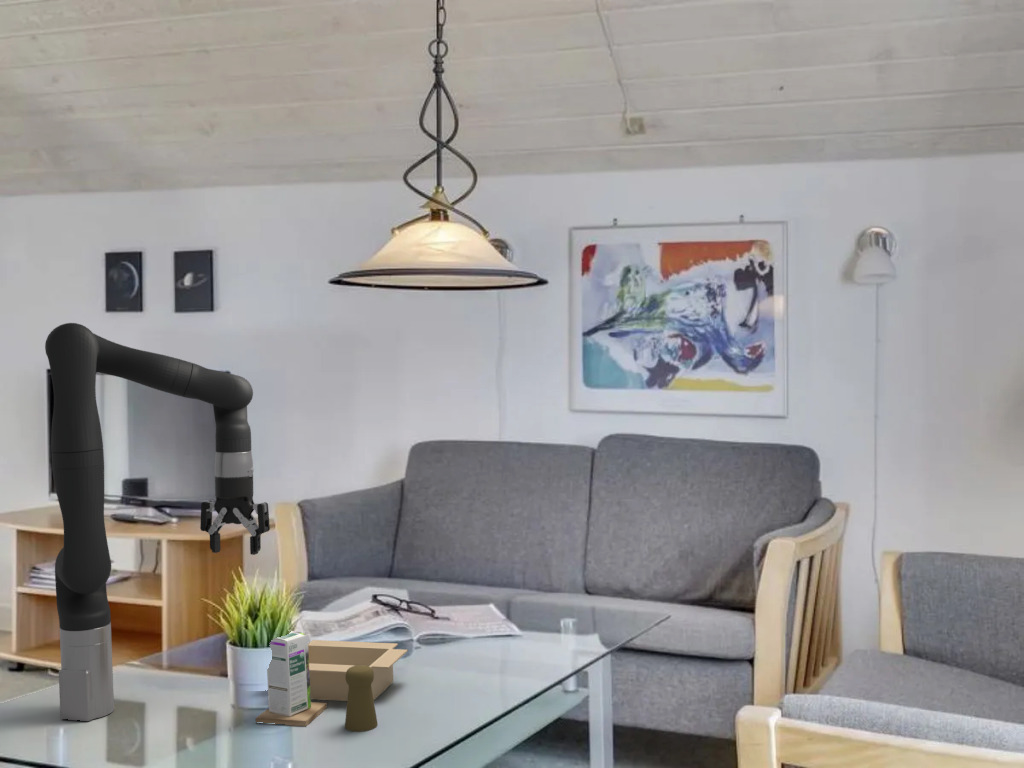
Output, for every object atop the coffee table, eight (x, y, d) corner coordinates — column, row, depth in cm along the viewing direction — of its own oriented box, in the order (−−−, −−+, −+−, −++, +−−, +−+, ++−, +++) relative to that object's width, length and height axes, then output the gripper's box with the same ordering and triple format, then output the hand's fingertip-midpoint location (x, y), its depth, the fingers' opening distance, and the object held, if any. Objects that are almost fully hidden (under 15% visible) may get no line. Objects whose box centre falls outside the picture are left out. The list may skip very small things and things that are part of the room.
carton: (414, 677, 230) (413, 644, 230) (382, 709, 211) (381, 673, 210) (299, 671, 236) (298, 639, 236) (257, 702, 216) (256, 667, 216)
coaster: (306, 726, 202) (305, 721, 202) (255, 723, 204) (255, 718, 204) (326, 708, 212) (326, 702, 212) (278, 705, 214) (278, 700, 214)
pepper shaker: (347, 720, 205) (346, 662, 205) (379, 719, 205) (378, 661, 204) (341, 731, 199) (339, 672, 199) (374, 731, 199) (373, 671, 198)
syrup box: (290, 717, 204) (287, 640, 204) (267, 712, 208) (264, 636, 207) (311, 708, 209) (309, 633, 208) (289, 703, 212) (286, 629, 212)
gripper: (192, 475, 220) (194, 555, 221) (257, 476, 217) (258, 558, 217) (211, 470, 227) (213, 548, 228) (274, 472, 224) (275, 551, 224)
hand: (235, 553), depth 223 cm, fingers open, 8 cm apart
